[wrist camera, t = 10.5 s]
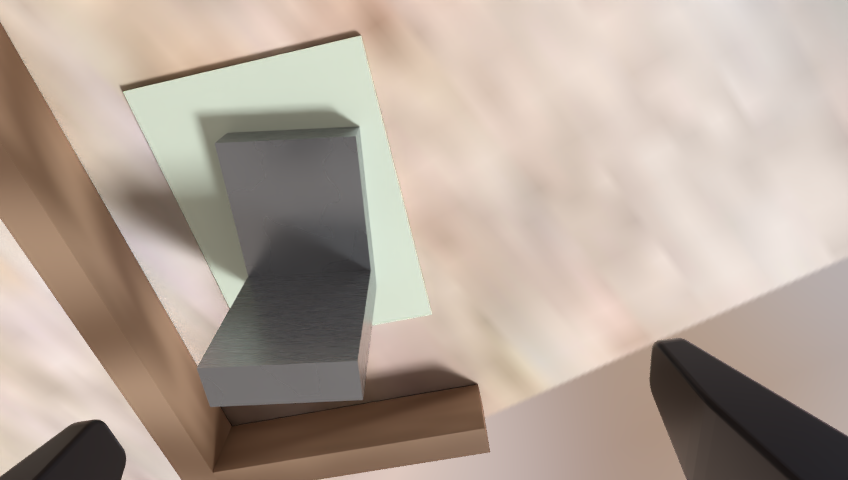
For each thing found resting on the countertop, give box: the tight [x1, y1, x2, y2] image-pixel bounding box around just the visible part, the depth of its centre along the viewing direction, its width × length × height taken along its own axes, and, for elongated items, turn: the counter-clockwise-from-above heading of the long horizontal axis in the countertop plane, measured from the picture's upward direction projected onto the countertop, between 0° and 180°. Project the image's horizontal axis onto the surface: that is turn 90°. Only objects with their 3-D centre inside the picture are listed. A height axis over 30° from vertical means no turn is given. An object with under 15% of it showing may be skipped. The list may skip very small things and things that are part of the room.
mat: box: [123, 35, 432, 326], centre depth 18 cm, size 11×8×1 cm
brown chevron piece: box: [0, 23, 490, 480], centre depth 18 cm, size 20×14×2 cm
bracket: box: [197, 126, 377, 407], centre depth 15 cm, size 6×4×6 cm
